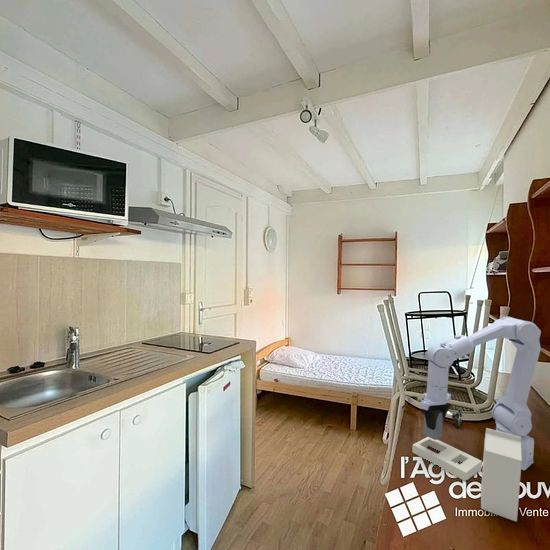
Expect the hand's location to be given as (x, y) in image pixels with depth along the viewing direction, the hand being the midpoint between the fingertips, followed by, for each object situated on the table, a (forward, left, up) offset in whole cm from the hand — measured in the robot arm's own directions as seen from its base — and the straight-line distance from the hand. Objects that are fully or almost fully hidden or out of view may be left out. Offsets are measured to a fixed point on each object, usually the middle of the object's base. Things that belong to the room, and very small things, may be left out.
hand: (434, 426), depth 102 cm
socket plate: (-4, 0, -9) cm, 10 cm away
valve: (+10, -25, -9) cm, 29 cm away
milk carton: (-21, +8, -9) cm, 24 cm away
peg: (0, 0, -3) cm, 3 cm away
